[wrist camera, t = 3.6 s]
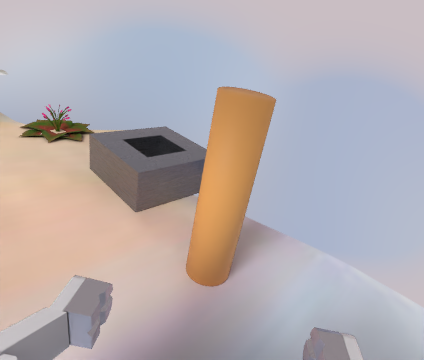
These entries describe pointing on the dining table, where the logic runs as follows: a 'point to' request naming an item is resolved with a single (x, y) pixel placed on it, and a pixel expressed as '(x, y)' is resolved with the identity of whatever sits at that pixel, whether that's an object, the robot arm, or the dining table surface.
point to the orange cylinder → (227, 181)
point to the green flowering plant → (48, 125)
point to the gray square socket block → (147, 165)
